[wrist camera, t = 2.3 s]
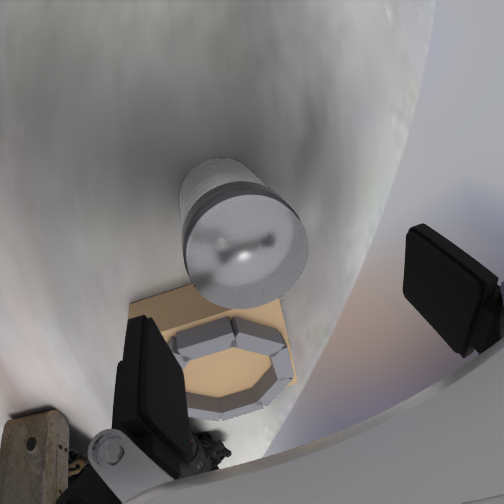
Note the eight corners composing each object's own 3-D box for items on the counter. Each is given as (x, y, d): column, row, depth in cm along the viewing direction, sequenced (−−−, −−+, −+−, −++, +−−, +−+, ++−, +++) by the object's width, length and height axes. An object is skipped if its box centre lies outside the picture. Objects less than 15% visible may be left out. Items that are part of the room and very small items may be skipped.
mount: (129, 303, 21) (124, 359, 17) (260, 261, 22) (286, 308, 18) (179, 382, 26) (186, 432, 22) (282, 350, 27) (303, 396, 23)
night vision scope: (205, 448, 39) (161, 492, 32) (164, 380, 30) (97, 438, 23) (248, 475, 34) (203, 525, 27) (221, 417, 25) (148, 490, 19)
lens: (166, 171, 18) (165, 222, 11) (249, 145, 18) (300, 180, 11) (192, 244, 20) (207, 325, 14) (266, 220, 21) (316, 287, 14)
